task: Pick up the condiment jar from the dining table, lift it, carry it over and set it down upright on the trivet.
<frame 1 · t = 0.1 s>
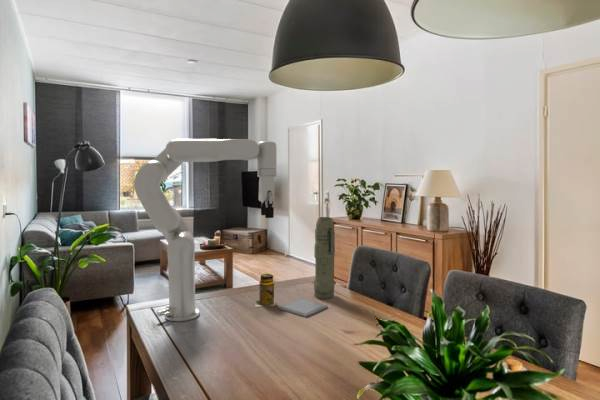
hand: (267, 216, 152), 37 cm above the table, tool pointing down, fingers open, 9 cm apart
trivet: (303, 308, 154), on the table
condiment: (264, 304, 160), on the table
thermos: (323, 296, 170), on the table
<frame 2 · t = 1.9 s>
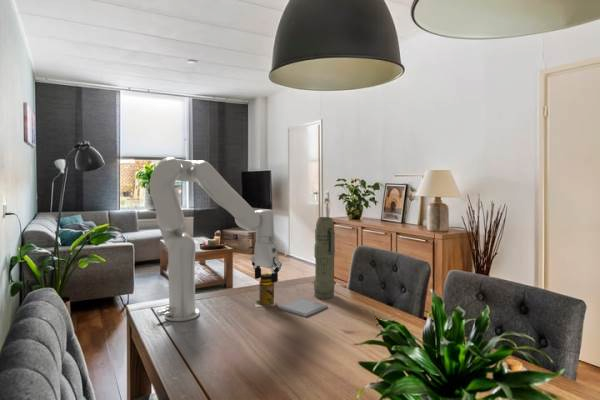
hand: (266, 280, 160), 10 cm above the table, tool pointing down, fingers open, 9 cm apart
nothing on the table moved.
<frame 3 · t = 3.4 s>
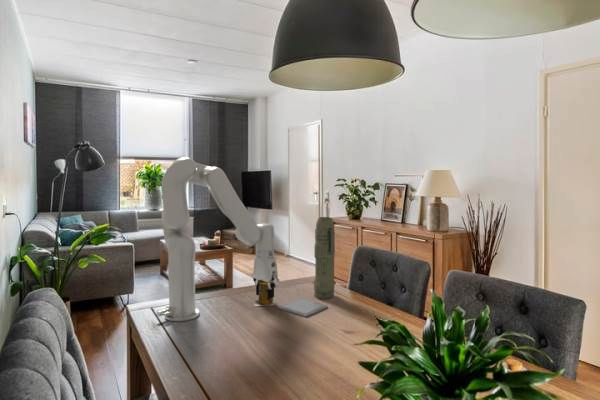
hand: (265, 295, 160), 3 cm above the table, tool pointing down, fingers closed on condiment, 6 cm apart
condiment: (263, 303, 160), on the table, touching gripper
everything else where it was.
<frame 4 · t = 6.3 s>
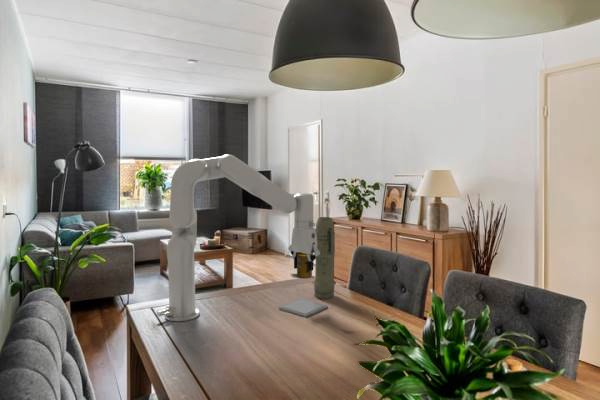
hand: (303, 268, 153), 16 cm above the table, tool pointing down, fingers closed on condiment, 6 cm apart
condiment: (302, 277, 154), point 13 cm above the table, touching gripper
everything else where it was.
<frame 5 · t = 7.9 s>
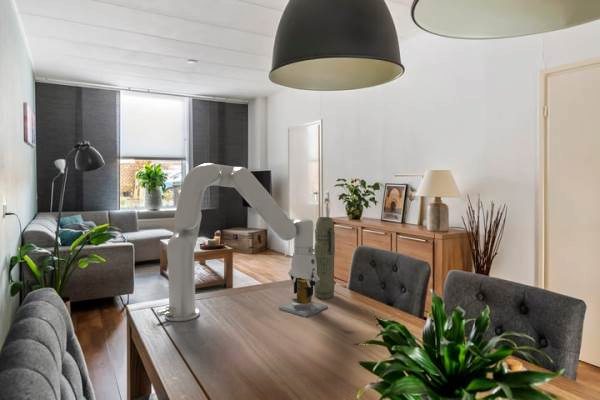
hand: (303, 293, 154), 6 cm above the table, tool pointing down, fingers closed on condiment, 6 cm apart
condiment: (302, 302, 155), point 3 cm above the table, touching gripper
everything else where it was.
when the fingers open (5 cm above the table, at t = 9.1 s): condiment stays where it is, resting on trivet.
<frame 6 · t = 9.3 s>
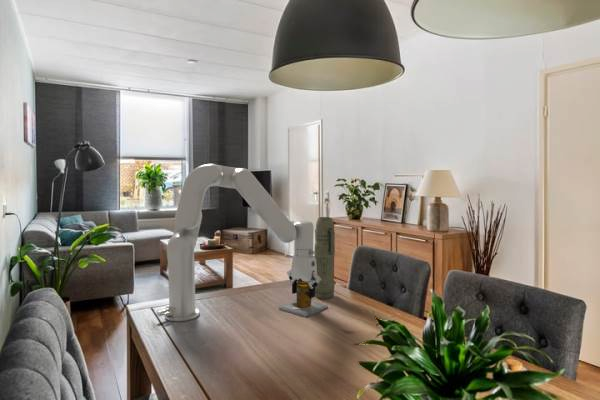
hand: (303, 295, 154), 6 cm above the table, tool pointing down, fingers open, 8 cm apart
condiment: (301, 306, 155), point 1 cm above the table, touching trivet
everything else where it was.
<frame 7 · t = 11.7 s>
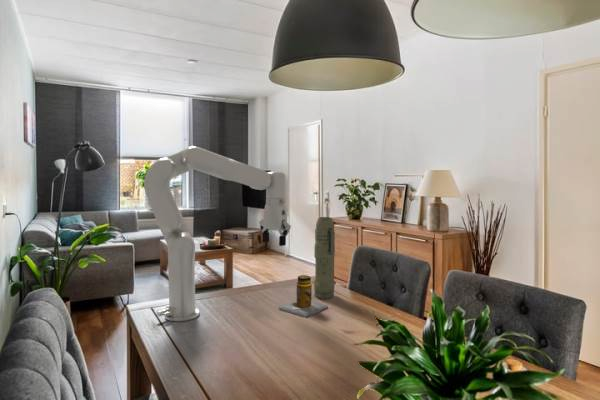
hand: (273, 243, 157), 25 cm above the table, tool pointing down, fingers open, 9 cm apart
nothing on the table moved.
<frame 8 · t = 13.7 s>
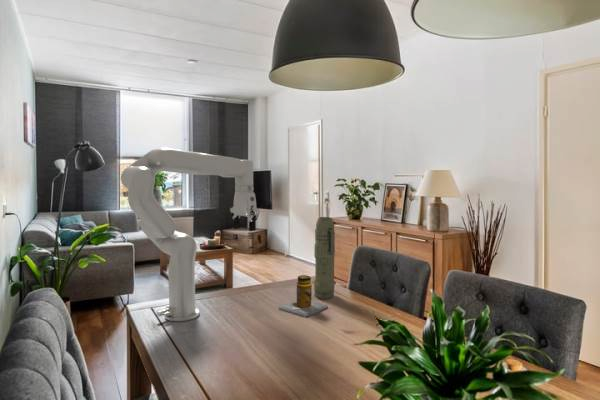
hand: (244, 229, 163), 30 cm above the table, tool pointing down, fingers open, 9 cm apart
nothing on the table moved.
at the end: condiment inside the target area on the trivet (0.7 cm from its centre), point 0.7 cm above the trivet's base; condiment tilted 0°; the gripper is holding nothing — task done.
